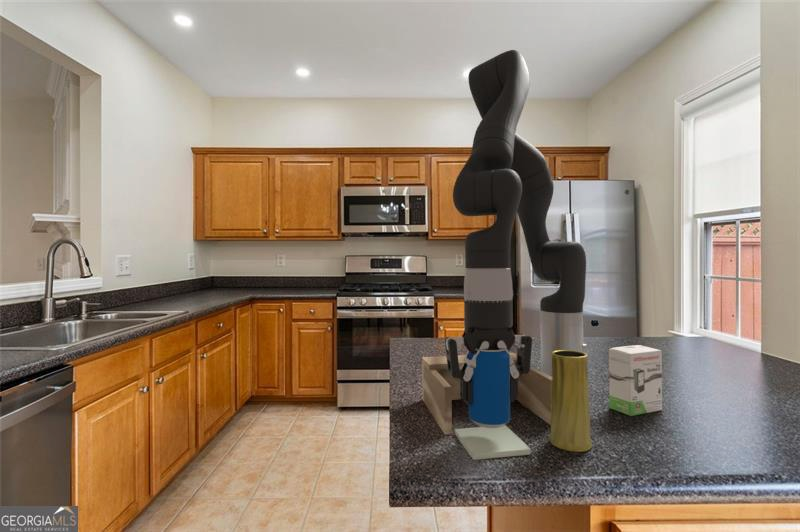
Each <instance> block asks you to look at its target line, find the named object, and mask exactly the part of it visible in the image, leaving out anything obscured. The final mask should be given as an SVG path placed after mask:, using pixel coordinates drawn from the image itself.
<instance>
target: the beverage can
mask: <svg viewBox="0 0 800 532" xmlns="http://www.w3.org/2000/svg"><path fill="white" fill-rule="evenodd" d="M476 350H478V349H476ZM479 351H480V352H479V354H478V355H477V356H476V368H474V369H473V375H472V377H471V379H470V380H471V381H472V405H468V418H469V419H470V421H472V422H473V423H474V424H475V425H476V426H478V427H485V428H499V427H502V426H504V425H506V424H507V423H509V422H510V421H511V402H510V356H509V354H508V353H507V352H506V348H505V349H502V350H479ZM474 354H475V353H474ZM474 354H472V353H471V352H469V353H468V359H469V360H472V358H473V356H474Z"/></svg>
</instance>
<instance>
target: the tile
mask: <svg viewBox="0 0 800 532" xmlns="http://www.w3.org/2000/svg"><path fill="white" fill-rule="evenodd" d="M454 434H455V437H457V439H458V440H459V442H460V443H461V445H462V446H463V448H464V450H465V451H466V452H467V453H468V456H470V458H472V460H473V461H477V460H487V459H496V458H498V459H499V458H506V457H517V456H519V457H520V456H528V455H531V454H532V448H530V447H529V446H528V445H527V444H526V443H525V442H524V441H523V440H522V439H521V438H520V437H519V436H518V435H516V433H514V431H512V430H511V429H510V428H509V427H508V426H507V425H506V424H505V425H504V426H502V427H499V428H485V427H481V426H478V427H477V426H476V427H464V428H454Z"/></svg>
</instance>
